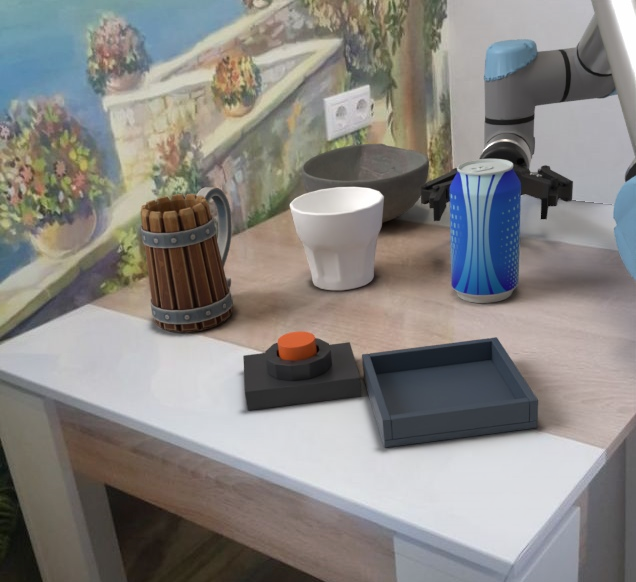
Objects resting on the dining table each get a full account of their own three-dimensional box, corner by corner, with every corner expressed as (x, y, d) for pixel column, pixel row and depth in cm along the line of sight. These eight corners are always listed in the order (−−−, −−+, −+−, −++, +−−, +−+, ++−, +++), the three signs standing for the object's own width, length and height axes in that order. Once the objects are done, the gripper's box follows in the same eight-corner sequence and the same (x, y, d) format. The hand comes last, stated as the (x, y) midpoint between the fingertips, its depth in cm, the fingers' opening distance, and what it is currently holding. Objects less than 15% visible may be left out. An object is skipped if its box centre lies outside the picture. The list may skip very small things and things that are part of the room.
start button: (315, 343, 95) (313, 329, 94) (318, 359, 92) (316, 344, 91) (278, 348, 95) (276, 333, 94) (280, 364, 92) (278, 349, 91)
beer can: (458, 279, 117) (457, 157, 109) (522, 281, 114) (526, 156, 106) (445, 304, 110) (442, 175, 102) (512, 307, 108) (515, 175, 99)
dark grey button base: (351, 359, 99) (348, 327, 97) (361, 396, 92) (359, 361, 90) (246, 372, 99) (240, 340, 97) (247, 410, 91) (242, 376, 89)
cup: (367, 257, 128) (362, 181, 122) (403, 284, 118) (399, 201, 112) (286, 275, 125) (277, 197, 119) (316, 303, 115) (307, 220, 109)
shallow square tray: (496, 362, 95) (497, 336, 94) (537, 428, 83) (538, 400, 81) (363, 379, 95) (361, 354, 94) (384, 447, 83) (382, 420, 81)
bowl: (286, 239, 139) (278, 175, 134) (334, 201, 155) (329, 142, 149) (408, 244, 131) (405, 176, 126) (445, 203, 147) (444, 142, 142)
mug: (203, 338, 108) (182, 218, 101) (137, 328, 113) (112, 213, 106) (269, 292, 120) (255, 181, 112) (207, 285, 125) (188, 178, 117)
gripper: (589, 190, 129) (589, 237, 111) (420, 194, 135) (395, 239, 118) (593, 137, 125) (592, 177, 108) (418, 143, 132) (392, 183, 114)
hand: (489, 210), depth 113 cm, fingers open, 13 cm apart
